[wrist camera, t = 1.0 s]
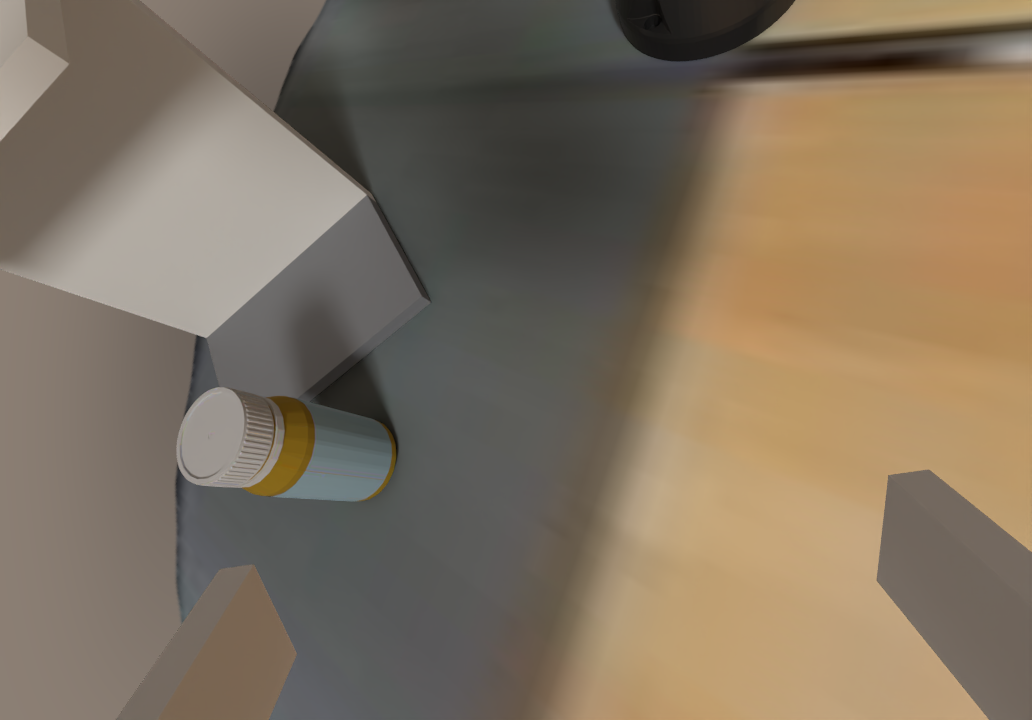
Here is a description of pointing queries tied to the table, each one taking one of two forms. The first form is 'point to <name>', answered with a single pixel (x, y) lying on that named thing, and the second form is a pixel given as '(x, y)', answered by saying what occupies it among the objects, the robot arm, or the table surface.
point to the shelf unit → (187, 199)
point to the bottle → (283, 447)
